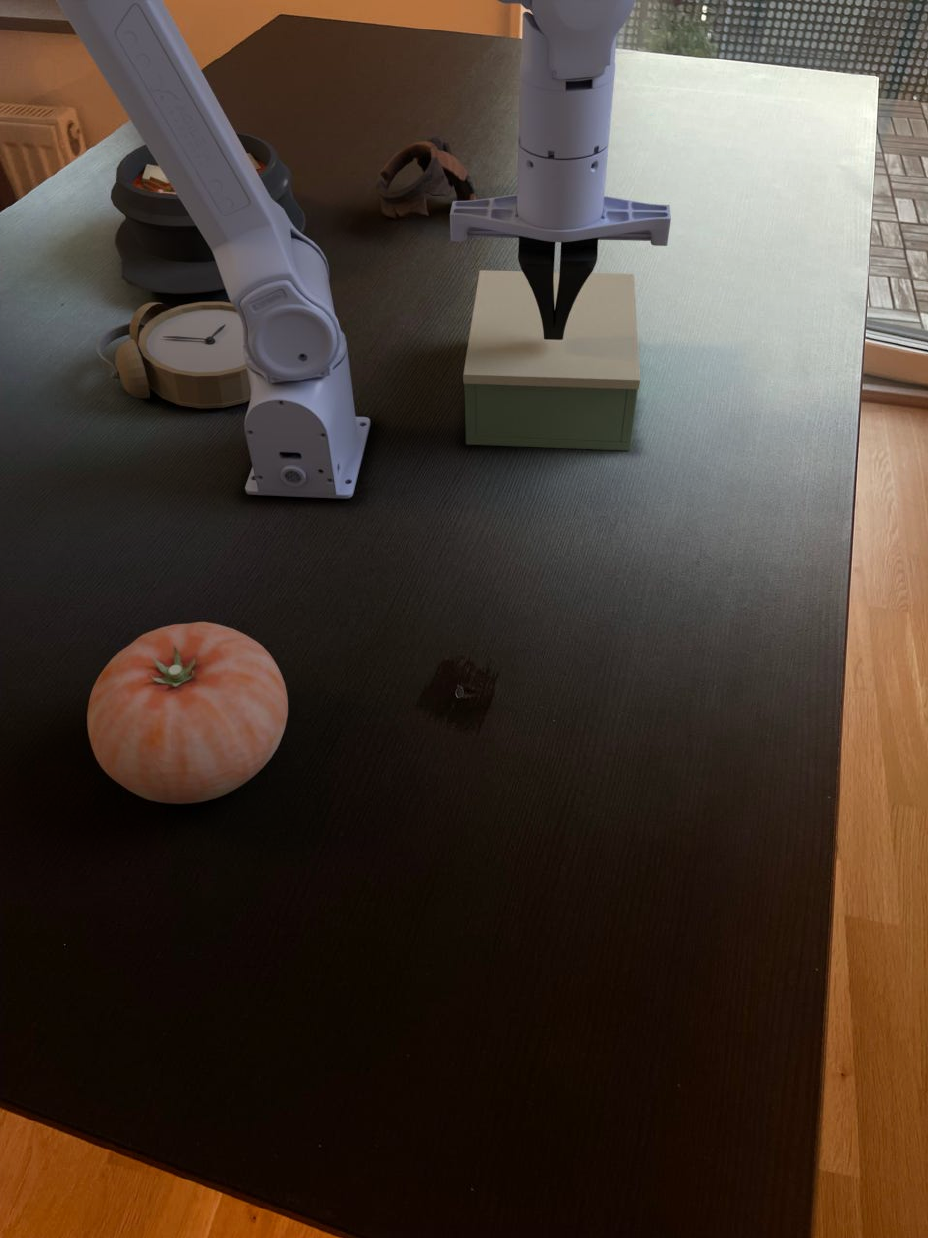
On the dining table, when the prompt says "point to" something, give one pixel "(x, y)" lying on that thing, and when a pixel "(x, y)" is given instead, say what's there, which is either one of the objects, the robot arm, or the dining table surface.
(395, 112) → the dining table surface
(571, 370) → the box lid
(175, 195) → the casserole
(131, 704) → the tomato
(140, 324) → the alarm clock
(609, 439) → the open box
